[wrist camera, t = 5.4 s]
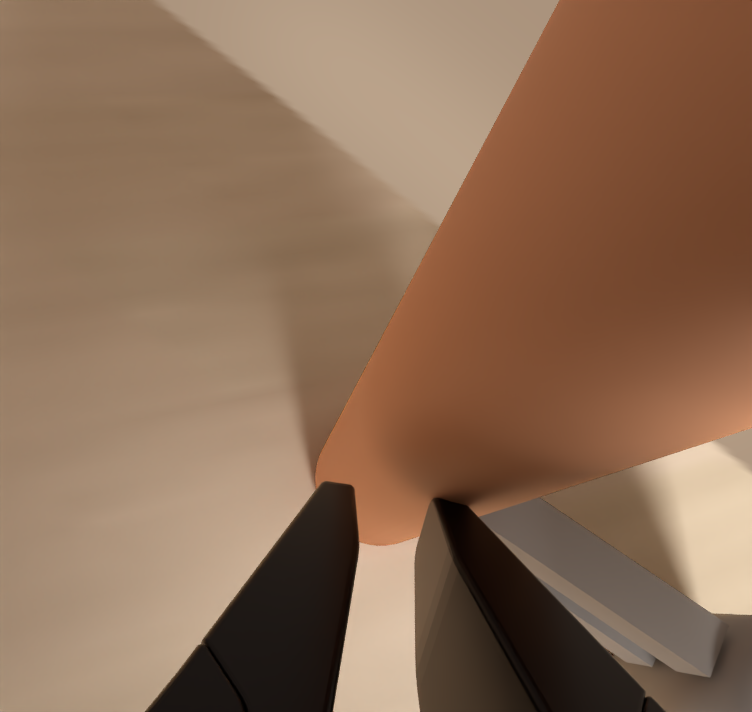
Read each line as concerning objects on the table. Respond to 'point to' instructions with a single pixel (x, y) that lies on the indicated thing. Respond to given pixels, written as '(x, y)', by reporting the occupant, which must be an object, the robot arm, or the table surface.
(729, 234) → the orange grey t-shaped piece
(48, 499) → the table surface
